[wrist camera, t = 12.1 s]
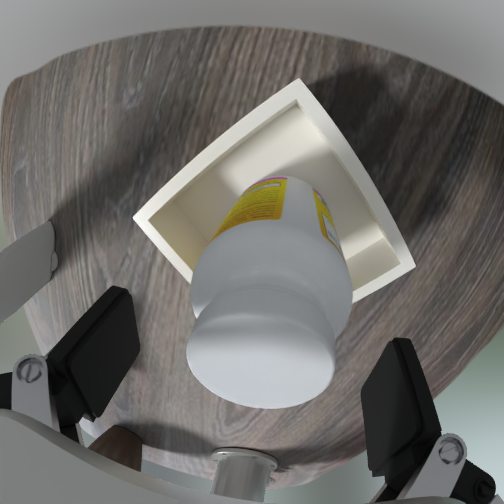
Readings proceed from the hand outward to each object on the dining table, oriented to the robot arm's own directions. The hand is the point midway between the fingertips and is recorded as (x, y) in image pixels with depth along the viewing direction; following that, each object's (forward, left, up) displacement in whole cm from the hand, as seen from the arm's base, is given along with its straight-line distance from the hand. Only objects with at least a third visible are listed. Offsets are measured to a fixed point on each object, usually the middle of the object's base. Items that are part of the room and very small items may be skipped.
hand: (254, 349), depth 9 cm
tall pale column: (+13, +24, -13) cm, 30 cm away
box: (+1, 0, -13) cm, 13 cm away
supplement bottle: (0, -1, -12) cm, 12 cm away
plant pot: (-20, +55, -13) cm, 60 cm away
